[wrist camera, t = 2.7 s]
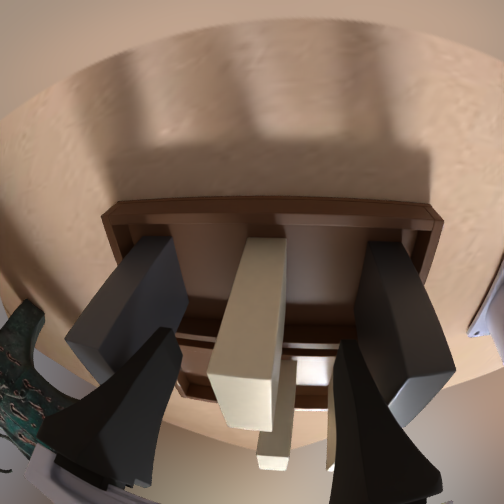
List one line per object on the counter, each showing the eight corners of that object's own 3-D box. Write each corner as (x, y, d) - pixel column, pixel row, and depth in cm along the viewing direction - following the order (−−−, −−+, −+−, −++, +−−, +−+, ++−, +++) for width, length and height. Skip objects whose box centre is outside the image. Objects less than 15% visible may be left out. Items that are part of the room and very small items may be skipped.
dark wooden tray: (429, 203, 12) (444, 220, 10) (392, 326, 17) (397, 347, 15) (118, 201, 15) (100, 215, 13) (155, 314, 20) (146, 332, 18)
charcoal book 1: (172, 235, 15) (97, 349, 8) (189, 302, 18) (144, 409, 11) (142, 235, 15) (63, 338, 9) (162, 299, 18) (112, 399, 11)
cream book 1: (286, 237, 14) (272, 379, 7) (285, 308, 17) (272, 432, 10) (247, 236, 14) (205, 372, 8) (253, 306, 17) (227, 427, 10)
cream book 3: (363, 356, 19) (370, 455, 12) (349, 387, 21) (351, 470, 15) (337, 356, 19) (339, 457, 12) (327, 387, 22) (325, 471, 15)
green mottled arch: (19, 306, 25) (-52, 419, 9) (16, 279, 22) (-73, 409, 5) (142, 393, 30) (95, 523, 13) (158, 380, 26) (102, 538, 10)
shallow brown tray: (389, 333, 17) (393, 354, 16) (360, 393, 22) (361, 410, 21) (158, 321, 20) (149, 340, 19) (186, 381, 25) (181, 397, 24)
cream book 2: (297, 355, 19) (289, 457, 13) (294, 386, 22) (285, 471, 15) (270, 354, 20) (255, 455, 13) (271, 385, 22) (259, 468, 16)
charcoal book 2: (402, 241, 13) (457, 370, 6) (382, 309, 16) (405, 427, 9) (367, 239, 13) (407, 377, 7) (352, 309, 16) (365, 432, 10)
